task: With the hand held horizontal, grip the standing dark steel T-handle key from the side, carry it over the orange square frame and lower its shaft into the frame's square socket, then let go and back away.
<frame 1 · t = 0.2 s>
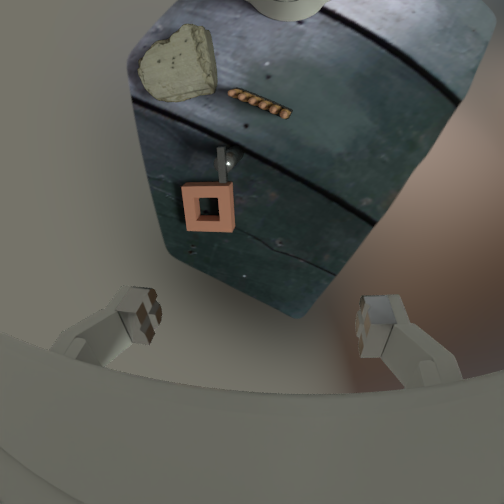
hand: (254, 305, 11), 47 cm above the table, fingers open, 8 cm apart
concrete fragment: (187, 65, 47), on the table
orange square frame: (210, 204, 61), on the table
ammunition clip: (264, 102, 49), on the table
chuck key: (235, 153, 55), on the table
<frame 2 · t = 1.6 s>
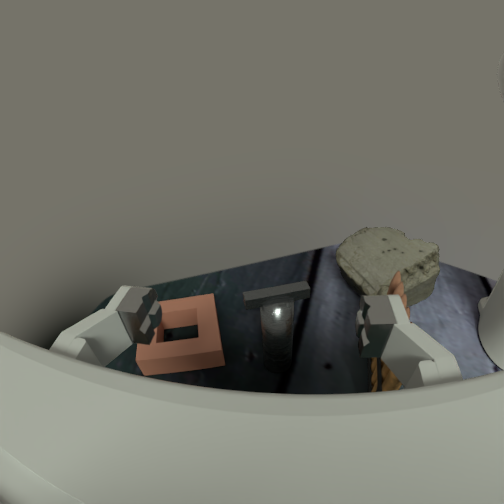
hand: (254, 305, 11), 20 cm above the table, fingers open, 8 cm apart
concrete fragment: (381, 288, 42), on the table
orange square frame: (182, 340, 35), on the table
ammunition clip: (375, 379, 28), on the table
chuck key: (277, 362, 32), on the table
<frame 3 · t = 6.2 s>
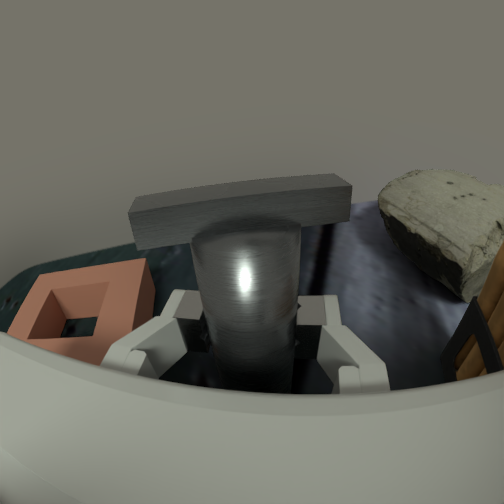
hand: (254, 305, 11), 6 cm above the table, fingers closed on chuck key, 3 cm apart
concrete fragment: (447, 263, 23), on the table
orange square frame: (86, 341, 17), on the table
ammunition clip: (463, 429, 10), on the table
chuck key: (258, 401, 13), on the table, touching gripper
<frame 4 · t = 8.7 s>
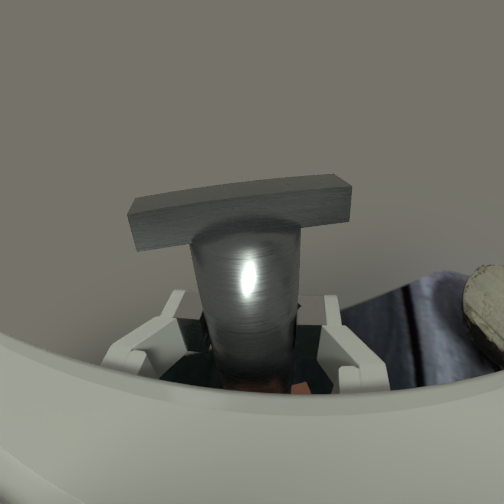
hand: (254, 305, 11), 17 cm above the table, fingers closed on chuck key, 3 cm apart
concrete fragment: (495, 340, 25), on the table
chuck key: (258, 402, 13), point 11 cm above the table, touching gripper
when the fingers open (7 cm above the table, at t = 11.0 s): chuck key drops 1 cm, resting in orange square frame.
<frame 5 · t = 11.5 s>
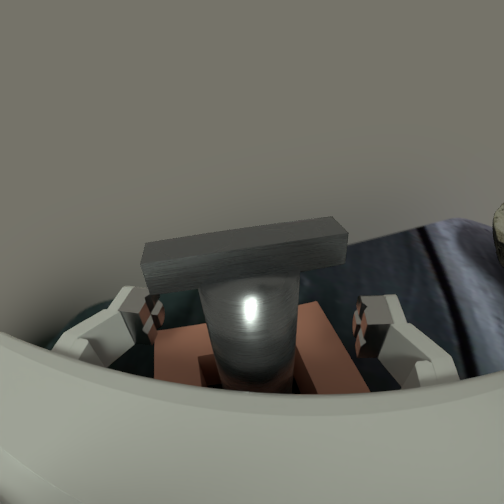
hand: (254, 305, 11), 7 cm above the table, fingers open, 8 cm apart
orange square frame: (259, 413, 14), on the table
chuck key: (260, 414, 14), resting in orange square frame
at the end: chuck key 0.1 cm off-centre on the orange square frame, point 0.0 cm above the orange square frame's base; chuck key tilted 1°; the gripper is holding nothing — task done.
